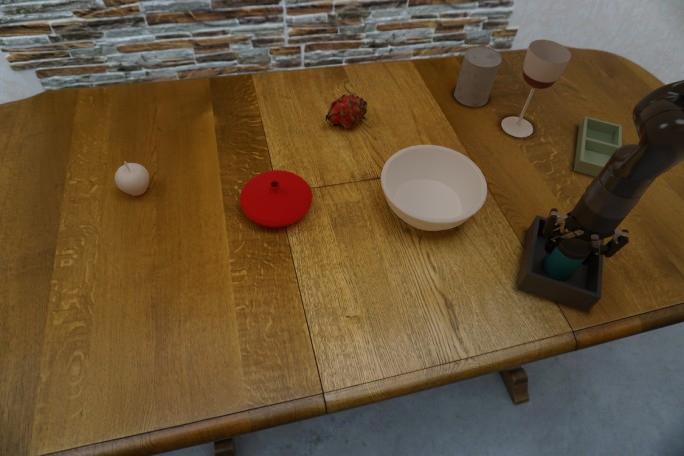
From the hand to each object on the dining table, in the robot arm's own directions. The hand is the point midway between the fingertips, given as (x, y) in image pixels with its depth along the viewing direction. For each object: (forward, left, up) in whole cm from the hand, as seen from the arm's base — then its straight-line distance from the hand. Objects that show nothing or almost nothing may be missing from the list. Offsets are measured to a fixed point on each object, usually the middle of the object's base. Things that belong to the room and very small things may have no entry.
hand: (565, 255), depth 91 cm
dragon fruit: (+56, -25, -5) cm, 62 cm away
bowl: (+29, -6, -5) cm, 30 cm away
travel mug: (0, 0, -5) cm, 5 cm away
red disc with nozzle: (+60, +7, -5) cm, 61 cm away
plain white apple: (+91, +15, -5) cm, 92 cm away
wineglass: (+14, -42, -5) cm, 45 cm away
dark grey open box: (0, 0, -5) cm, 5 cm away
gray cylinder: (+28, -50, -5) cm, 58 cm away
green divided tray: (-6, -40, -5) cm, 41 cm away
